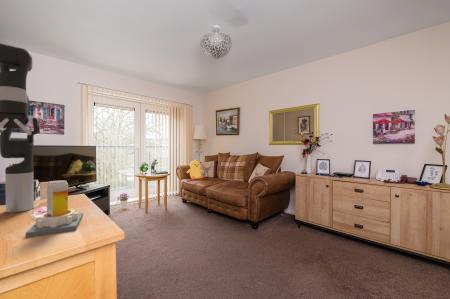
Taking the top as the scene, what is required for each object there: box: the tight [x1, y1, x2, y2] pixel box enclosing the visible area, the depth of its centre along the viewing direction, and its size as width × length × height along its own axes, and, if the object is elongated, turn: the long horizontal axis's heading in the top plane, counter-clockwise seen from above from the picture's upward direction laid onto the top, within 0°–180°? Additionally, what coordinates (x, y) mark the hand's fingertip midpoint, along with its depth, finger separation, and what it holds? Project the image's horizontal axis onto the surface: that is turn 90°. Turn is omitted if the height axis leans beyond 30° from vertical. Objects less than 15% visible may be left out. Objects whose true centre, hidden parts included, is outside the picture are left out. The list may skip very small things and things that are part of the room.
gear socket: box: [25, 208, 84, 238], centre depth 77 cm, size 16×14×4 cm
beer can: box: [46, 179, 69, 217], centre depth 77 cm, size 6×6×15 cm
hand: (14, 145), depth 76 cm, fingers open, 8 cm apart
